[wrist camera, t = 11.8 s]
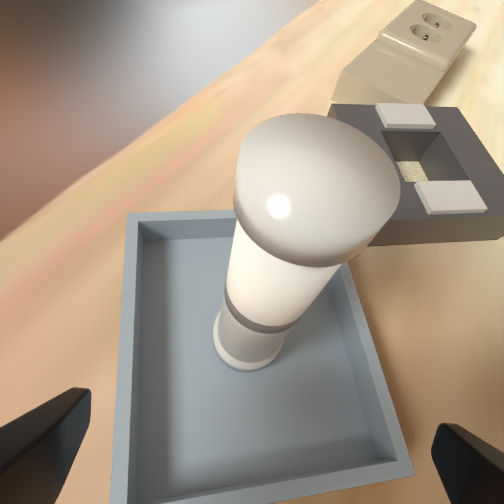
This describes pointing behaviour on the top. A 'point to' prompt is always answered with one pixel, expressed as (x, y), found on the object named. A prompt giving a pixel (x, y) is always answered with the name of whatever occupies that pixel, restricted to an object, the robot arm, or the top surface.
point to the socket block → (433, 173)
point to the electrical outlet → (405, 58)
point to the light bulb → (296, 226)
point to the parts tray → (239, 384)
